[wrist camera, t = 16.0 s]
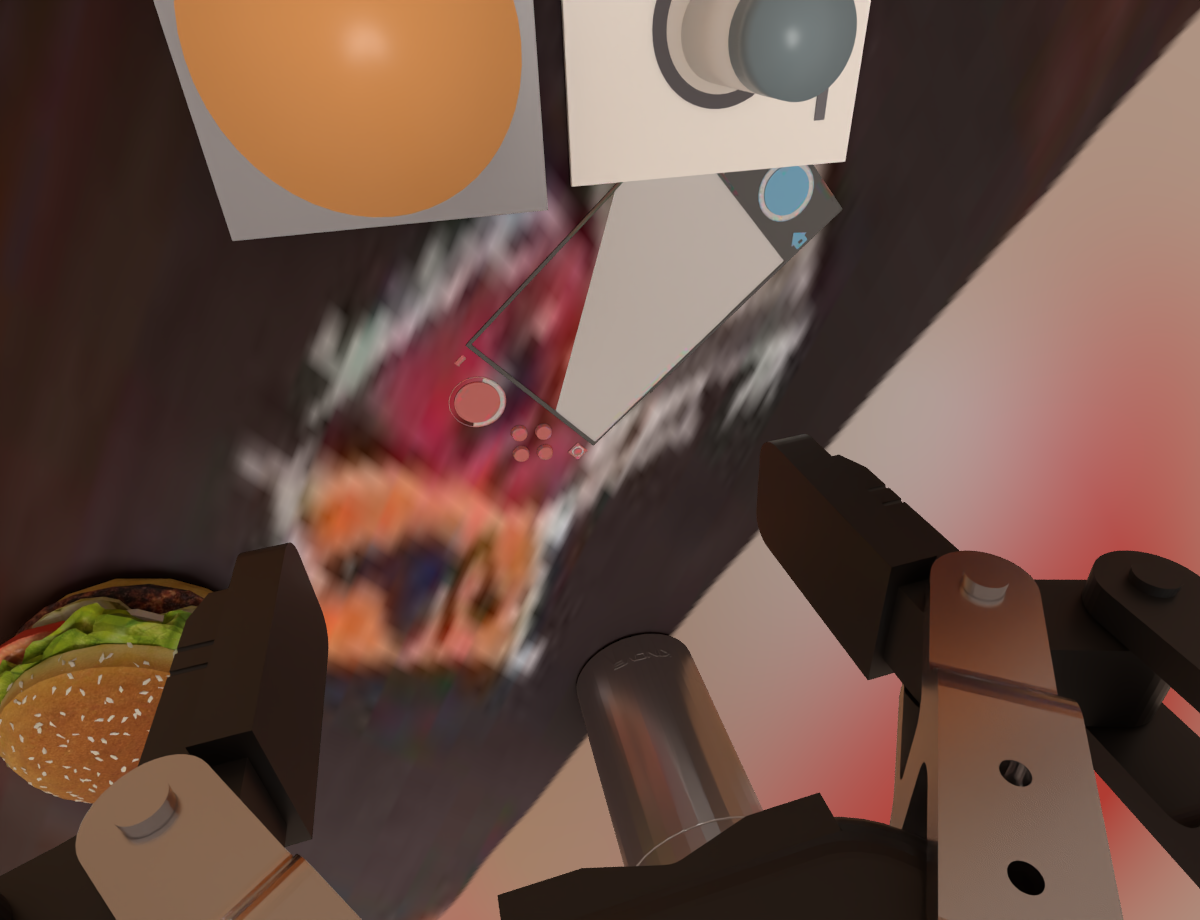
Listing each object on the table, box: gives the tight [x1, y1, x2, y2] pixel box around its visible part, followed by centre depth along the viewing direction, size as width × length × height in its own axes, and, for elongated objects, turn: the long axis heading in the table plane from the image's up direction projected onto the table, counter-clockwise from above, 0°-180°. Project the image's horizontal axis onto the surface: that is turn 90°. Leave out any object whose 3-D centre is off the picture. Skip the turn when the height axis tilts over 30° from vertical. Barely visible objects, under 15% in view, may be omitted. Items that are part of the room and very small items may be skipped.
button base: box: [153, 0, 548, 241], centre depth 26 cm, size 13×13×2 cm
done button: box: [174, 0, 522, 217], centre depth 24 cm, size 11×11×2 cm
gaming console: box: [449, 165, 842, 462], centre depth 36 cm, size 22×1×10 cm
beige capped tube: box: [681, 0, 857, 102], centre depth 27 cm, size 4×4×7 cm
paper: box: [561, 0, 871, 187], centre depth 30 cm, size 12×14×1 cm
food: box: [0, 579, 212, 803], centre depth 37 cm, size 14×14×8 cm
